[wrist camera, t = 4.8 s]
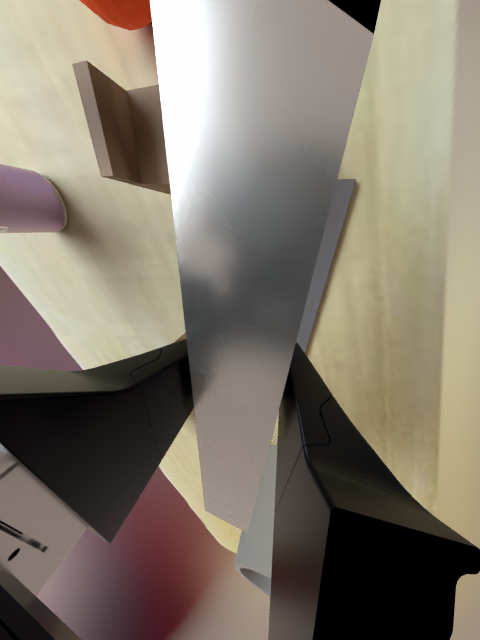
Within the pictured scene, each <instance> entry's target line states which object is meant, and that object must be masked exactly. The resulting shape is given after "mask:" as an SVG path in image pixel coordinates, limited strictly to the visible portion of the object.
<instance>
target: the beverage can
mask: <svg viewBox="0 0 480 640" xmlns="http://www.w3.org/2000/svg"><path fill="white" fill-rule="evenodd" d="M67 221H68V215H67V209H66V206H65V203H64V201H63V199H62V197H61V195H60V193H59V192H58V190H57V189H56V188H55V186H54V185H53V184H52V183H51V182H50V181H49V180H47V179H46V178H44V177H43V176H41V175H40V174H38V173H36V172H34V171H30V170H26V169H21V168H16V167H12V166H7V165H2V164H0V233H32V232H59V231H61V230H62V229H63V228H65V226H66V225H67Z"/></svg>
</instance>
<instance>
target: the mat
mask: <svg viewBox="0 0 480 640" xmlns="http://www.w3.org/2000/svg"><path fill="white" fill-rule="evenodd" d="M355 182H356V179H343V180H337V182H336V186H335V190H334V193H333V197H332V201H331V205H330V209H329V213H328V217H327V221H326V225H325V229H324V233H323V237H322V241H321V245H320V249H319V253H318V257H317V261H316V265H315V269H314V273H313V277H312V281H311V284H310V288H309V292H308V296H307V300H306V304H305V308H304V312H303V316H302V320H301V324H300V328H299V332H298V336H297V340H296V343H298V344H299V345H300V347H301V348H302V350H303V351H304V353H305V352H306V349H307V345H308V342H309V338H310V335H311V332H312V328H313V325H314V321H315V318H316V315H317V311H318V308H319V304H320V301H321V298H322V294H323V291H324V287H325V284H326V281H327V277H328V274H329V270H330V267H331V264H332V260H333V257H334V253H335V250H336V246H337V243H338V240H339V236H340V233H341V229H342V226H343V223H344V219H345V216H346V212H347V209H348V206H349V202H350V199H351V195H352V192H353V189H354V185H355Z"/></svg>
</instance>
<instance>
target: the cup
mask: <svg viewBox="0 0 480 640" xmlns="http://www.w3.org/2000/svg"><path fill="white" fill-rule="evenodd" d="M276 465H277V445H270V447H269V451H268V455H267V459H266V463H265V466H264V470H263V474H262V478H261V482H260V486H259V490H258V494H257V498H256V502H255V506H254V510H253V514H252V518H251V522H250V526H249V530H248V533H246V532H245V531H243V530H242V532H241V537H240V542H239V546H238V551H237V556H236V560H235V565H234V567H235V569H236V570H237V572H239V574H240V575H242V576H243V577H244V578H245V579H246V580H248V581H249V582H250V583H251V584H253V585H254V586H255V587H257V588H258V589H260V590H261V591H263V592H264V593H266V594H268V595H269V596H270V594H271V572H272V551H273V529H274V515H275V514H274V508H275V487H276Z"/></svg>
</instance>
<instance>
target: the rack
mask: <svg viewBox="0 0 480 640" xmlns="http://www.w3.org/2000/svg"><path fill="white" fill-rule="evenodd" d="M72 65H73V69H74V73H75V76H76V80H77V84H78V88H79V92H80V96H81V100H82V104H83V108H84V112H85V115H86V119H87V123H88V127H89V131H90V135H91V139H92V143H93V147H94V151H95V154H96V158H97V162H98V166H99V170H100V174H101V176H102V177H106V178H110V179H114V180H118V181H121V182H125V183H129V184H132V185H136V186H140V187H143V188H147V189H151V190H155V191H159V192H163V193H167V194H171V190H170V181H169V172H168V162H167V153H166V144H165V135H164V125H163V116H162V107H161V98H160V88H159V85H155V86H150V87H144V88H139V89H133V90H128V91H126V90H124V89H123V88H122V87H121V86H119V85H118V84H117V83H115V82H114V81H113V80H111V79H110V78H109V77H107V76H106V75H105V74H104V73H102V72H101V71H100V70H98V69H97V68H96V67H94V66H93V65H92V64H91V63H89V62H88V61H87V60H86V61H83V62H79V63H75V64H72ZM184 339H186V333H185V334H183V335H182V336H181V337H180V338H179V339H178V340H176V341H175V342H178V341H181V340H184ZM175 342H174V343H175Z"/></svg>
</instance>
